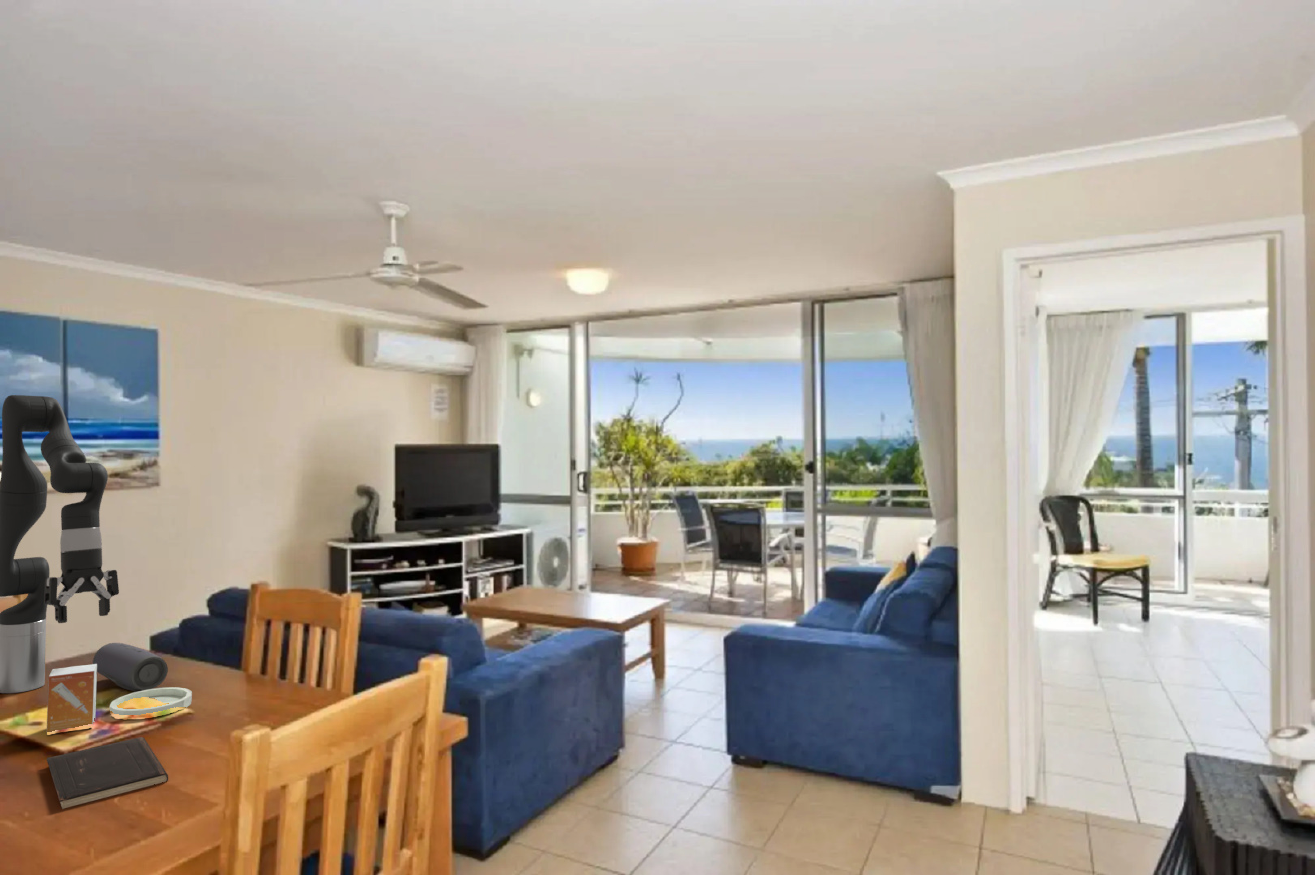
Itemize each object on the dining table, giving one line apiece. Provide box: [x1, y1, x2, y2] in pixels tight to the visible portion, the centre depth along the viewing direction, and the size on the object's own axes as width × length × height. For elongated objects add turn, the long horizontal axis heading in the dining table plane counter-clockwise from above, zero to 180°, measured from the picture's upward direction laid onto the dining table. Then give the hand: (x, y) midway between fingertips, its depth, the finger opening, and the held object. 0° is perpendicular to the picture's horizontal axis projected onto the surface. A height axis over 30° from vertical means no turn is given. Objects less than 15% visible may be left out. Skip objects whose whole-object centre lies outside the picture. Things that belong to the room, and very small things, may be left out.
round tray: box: [109, 686, 193, 715], centre depth 176 cm, size 16×16×2 cm
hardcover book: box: [46, 736, 169, 810], centre depth 141 cm, size 16×23×2 cm
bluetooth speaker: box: [92, 642, 169, 692], centre depth 191 cm, size 23×9×10 cm, turn 58°
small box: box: [46, 663, 98, 733], centre depth 163 cm, size 8×6×13 cm
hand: (83, 619), depth 168 cm, fingers open, 8 cm apart
